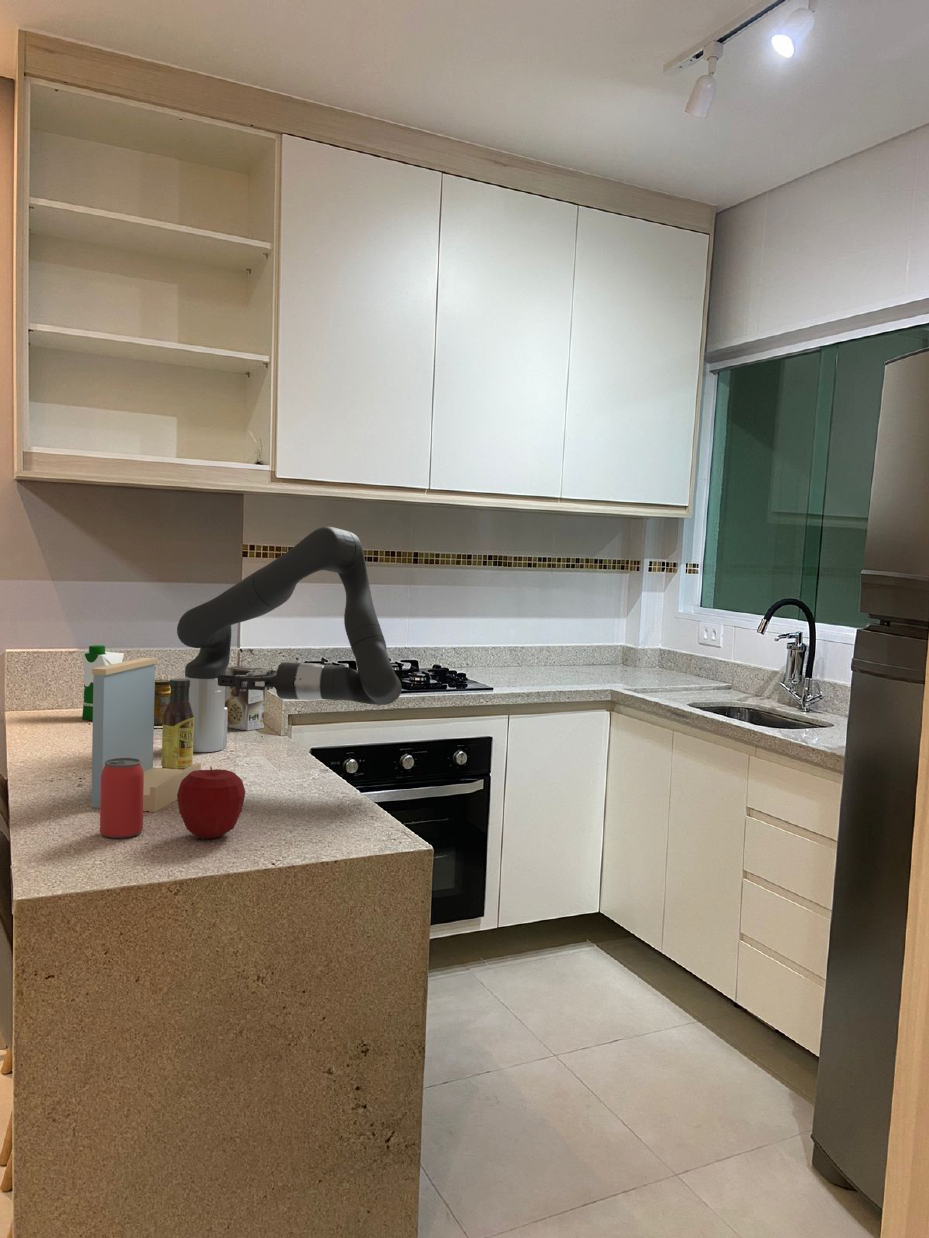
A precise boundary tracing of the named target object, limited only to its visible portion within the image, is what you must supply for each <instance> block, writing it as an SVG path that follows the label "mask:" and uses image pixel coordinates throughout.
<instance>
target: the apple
mask: <svg viewBox="0 0 929 1238" xmlns="http://www.w3.org/2000/svg"><path fill="white" fill-rule="evenodd" d="M209 768H210V769H201V770H196V771H192V772H191V773H189V774H188V775H187V776H186V777H185V778H184V779H183V780H182V781H181V784H180V787H179V790H178V793H177V805H178V811H179V814H180V817H181V818H182V821H183V823H184V826H185V828H186V830H187V831H188V832H190V833H191V834H192V835H193V836H195V837H196V838H198V837H199V838H212V839H216V837H217V838H221V837H222V835H223V836H224V835H226V834H227V833H228V832H230V831H231V830H233V829H234V828H235V826H236V824H237V822H238V820H239V818H240V816H241V814H242V812H243V806H244V802H245V801H244V800H245V796H246V789H245V786H244V783H243V782H244V781H243V779H242V778H241V777H240V776H238V775H237V773H235V772H233V771H231V770H227V769H219V768H218V769H217V768H215V769H213V768H212V766H210V767H209ZM220 836H221V837H220ZM199 838H198V839H199Z"/></svg>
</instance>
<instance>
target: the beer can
mask: <svg viewBox="0 0 929 1238" xmlns="http://www.w3.org/2000/svg"><path fill="white" fill-rule="evenodd" d="M140 763H141V761H140V760H139V759H135V758H115V759H110V760H107V761H105V763H104V764H105V766H104V768H103V770H102V774H101V795H100V808H99V813H100V814H99V833H100V834H101V835H102V836H103V837H105V838H108V837H109V839H116V838H119V839H126V838H125V837H129V838H131V837H130V836H133V837H135V836H134V835H136V836H138V835H139V834H141V833H142V831H143V829H144V812H143V794H144V772H143V768H142V766H141V764H140Z"/></svg>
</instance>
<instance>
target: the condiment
mask: <svg viewBox="0 0 929 1238" xmlns="http://www.w3.org/2000/svg"><path fill="white" fill-rule="evenodd" d="M170 692H171V687H170V679H169V680H168V679H155V695H154V726H163V721H164V711H165V709H166V707H167V705H168V704H169V702H170Z"/></svg>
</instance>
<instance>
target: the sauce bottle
mask: <svg viewBox="0 0 929 1238" xmlns="http://www.w3.org/2000/svg"><path fill="white" fill-rule="evenodd" d="M169 681H170V690H171V692H170V702H169V704H168V705H167V707H166V709H165V711H164V721H163V729H162V731H161V732H162V734H161V735H162V740H161V741H162V742H161V758H160V760H161V762H160V763H161V765H160V766H161V768H167V769H181V770H184V769H186V768H188V767H190V766H192V765H194V762H193V759H194V758H193V757H194V752H193V737H194V715H193V712H192V709H191V705H190V702H189V687H190V680H189V679H185V678H170V679H169Z"/></svg>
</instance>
